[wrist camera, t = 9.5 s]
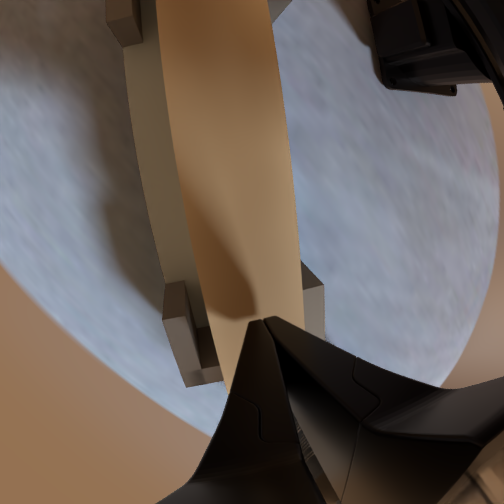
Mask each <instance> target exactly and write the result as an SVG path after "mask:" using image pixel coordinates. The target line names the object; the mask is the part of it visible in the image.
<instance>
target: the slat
mask: <svg viewBox="0 0 504 504" xmlns="http://www.w3.org/2000/svg"><path fill="white" fill-rule="evenodd" d="M156 11H157V22H158V32H159V42H160V52H161V60H162V69H163V77H164V85H165V92H166V100H167V107H168V114H169V121H170V127H171V134H172V140H173V147H174V153H175V159H176V165H177V171H178V176H179V182H180V187H181V193H182V198H183V204H184V209H185V214H186V219H187V224H188V229H189V234H190V239H191V244H192V249H193V254H194V258H195V263H196V268H197V272H198V277H199V281H200V286H201V290H202V294H203V299H204V303H205V307H206V311H207V316H208V320H209V324H210V328H211V332H212V336H213V340H214V344H215V348H216V352H217V355H218V359H219V363H220V367H221V371H222V374H223V378H224V382H225V385H226V389H227V392H228V395H229V393H230V388H231V384H232V381H233V377H234V374H235V370H236V366H237V363H238V359H239V355H240V351H241V348H242V344H243V340H244V337H245V333H246V329H247V325H248V323H249V321H253V320H258V319H262V320H263V319H264V318H266V317H270V316H278V317H280V318H282V319H284V320H286V321H288V322H290V323H292V324H293V325H295V326H297V327H299V328H301V329H303V330H305V323H304V306H303V290H302V275H301V262H300V249H299V237H298V226H297V215H296V204H295V194H294V184H293V175H292V166H291V157H290V149H289V140H288V132H287V124H286V116H285V109H284V102H283V94H282V87H281V80H280V74H279V67H278V61H277V54H276V48H275V42H274V36H273V30H272V24H271V18H270V13H269V7H268V2H267V0H156Z"/></svg>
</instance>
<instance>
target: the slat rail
mask: <svg viewBox="0 0 504 504" xmlns="http://www.w3.org/2000/svg"><path fill="white" fill-rule="evenodd" d="M291 1H292V0H267V2H268V7H269V13H270V18H271V24H273V22H274V21H275V20H276V19H277V18H278V16H279V15H280V14H281V13H282V12H283V11H284V9H285V8H286V7H287V6H288V5H289V4H290V2H291ZM106 23H107V24H108V26H109V28H110V29H111V31H112V32H113V34H114V35H115V37H116V38H117V40H118V41H119V43H120V44H121V46H122V47H123V57H124V68H125V77H126V86H127V94H128V102H129V109H130V117H131V123H132V130H133V136H134V142H135V148H136V154H137V160H138V166H139V171H140V176H141V181H142V186H143V191H144V196H145V201H146V206H147V211H148V215H149V220H150V224H151V228H152V233H153V237H154V241H155V245H156V249H157V253H158V257H159V261H160V265H161V269H162V273H163V277H164V280H165V294H164V304H163V316H162V321H163V324H164V327H165V330H166V333H167V336H168V339H169V342H170V345H171V348H172V351H173V354H174V357H175V359H176V362H177V365H178V368H179V370H180V373H181V376H182V378H183V381H184V384H185V386H186V388H187V387H192V386H198V385H203V384H209V383H214V382H219V381H223V380H224V378H223V374H222V371H221V367H220V363H219V359H218V355H217V352H216V348H215V344H214V340H213V336H212V332H211V328H210V324H209V320H208V316H207V311H206V307H205V303H204V299H203V294H202V290H201V286H200V281H199V277H198V272H197V268H196V263H195V258H194V254H193V249H192V244H191V239H190V234H189V229H188V224H187V219H186V214H185V209H184V204H183V198H182V193H181V187H180V182H179V176H178V171H177V165H176V159H175V153H174V147H173V140H172V134H171V127H170V121H169V114H168V107H167V100H166V92H165V85H164V77H163V69H162V60H161V52H160V42H159V32H158V22H157V11H156V0H106ZM300 262H301V275H302V290H303V306H304V323H305V331H307V332H309V333H311V334H313V335H315V336H317V337H319V338H321V339H323V340H324V341H325V302H324V284H323V283H322V282H321V281H320V280H319V279H318V278H317V277H316V276H315V275H314V274H313V273H312V272H311V271H310V270H309V268H308V267H307V266H306V265H305V264H304V263H303V262H302V261H301V260H300Z"/></svg>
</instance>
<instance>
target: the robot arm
mask: <svg viewBox="0 0 504 504" xmlns="http://www.w3.org/2000/svg"><path fill="white" fill-rule="evenodd" d="M375 1H376V2H377V3H375V2H374V0H367V4H368V8H369V12H370V16H371V22H372V27H373V32H374V36H375V41H376V46H377V52H378V55H379V61H380V67H381V73H382V80H383V84H384V86H385V87H386V88H387V89H390V90H400V91H411V92H420V93H429V94H436V95H443V96H456V94H457V86H456V84H470V83H493V85H494V87H495V89H496V91H497V93H498V95H499V97H500V99H501V101H502V104H503V106H504V0H404V1H401V0H375ZM390 79H391V80H392V82H393V84H391V83H390ZM450 88H451V90H450ZM503 109H504V108H503ZM292 411H293V413H294V415H295V417H296V419H297V421H298V423H299V425H300V427H301V429H302V431H303V433H304V435H305V436H306V438H307V440H308V442H309V444H310V446H311V448H312V450H313V452H314V453H315V455H316V457H317V459H318V461H319V463H320V465H321V466H322V468H323V470H324V472H325V474H326V476H327V478H328V479H329V481H330V483H331V485H332V487H333V488H334V490H335V492H336V494H337V496H338V498H339V499H340V501H342V502H341V503H342V504H504V376H503V377H500V378H497V379H494V380H490V381H487V382H483V383H480V384H476V385H472V386H469V387H465V388H460V389H443V388H439V387H435V386H432V385H429V384H426V383H423V382H420V381H417V380H414V379H411V378H408V377H405V376H402V375H399V374H396V373H393V372H391V371H388V370H385V369H383V368H380V367H378V366H376V365H374V364H371V363H369V362H367V361H365V360H363V359H361V358H359V357H356V356H355V355H352V354H350V353H348V352H346V351H344V350H342V349H340V348H338V347H336V346H334V345H332V344H330V343H328V342H326V341H324V340H323V339H321V338H319V337H317V336H315V335H313V334H311V333H309V332H307V331H305V330H303V329H301V328H299V327H297V326H295V325H293V324H292V323H290V322H288V321H286V320H284V319H282V318H280V317H278V316H270V317H266V318H264V319H263V320H262V319H258V320H253V321H249V323H248V325H247V329H246V333H245V337H244V340H243V344H242V348H241V351H240V355H239V359H238V363H237V366H236V370H235V374H234V377H233V381H232V384H231V388H230V393H229V395H228V398H227V402H226V405H225V408H224V411H223V414H222V417H221V419H220V422H219V424H218V426H217V429H216V431H215V433H214V435H213V437H212V439H211V441H210V443H209V445H208V447H207V449H206V451H205V453H204V455H203V457H202V459H201V461H200V463H199V466H198V467H197V469H196V471H195V472H194V474H193V475H192V477H191V478H190V479H189V480H188V482H187V483H185V484H184V485H183V486H182V487H180V488H179V489H177V490H176V491H174V492H173V493H171V494H170V495H168V496H167V497H165V498H164V499H162V500H161V501H159V502H157V503H156V504H327V503H326V501H325V499H324V497H323V496H322V494H321V492H320V490H319V488H318V486H317V484H316V482H315V480H314V478H313V476H312V474H311V472H310V470H309V468H308V466H307V464H306V462H305V459H304V456H303V452H302V449H301V445H300V441H299V437H298V433H297V429H296V425H295V421H294V417H293V413H292Z"/></svg>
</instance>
